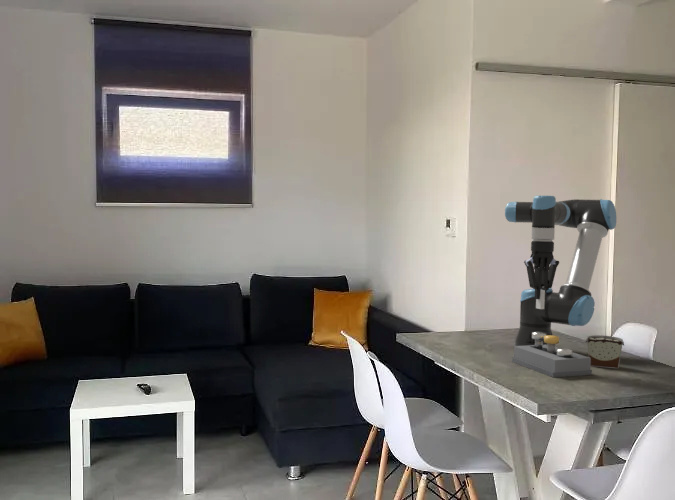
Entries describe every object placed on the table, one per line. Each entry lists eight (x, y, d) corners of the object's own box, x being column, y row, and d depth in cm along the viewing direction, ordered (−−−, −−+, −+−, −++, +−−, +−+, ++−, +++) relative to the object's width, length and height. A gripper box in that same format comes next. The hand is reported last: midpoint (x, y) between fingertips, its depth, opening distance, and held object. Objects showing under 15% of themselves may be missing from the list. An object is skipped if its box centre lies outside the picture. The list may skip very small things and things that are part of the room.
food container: (622, 365, 238) (623, 336, 237) (623, 368, 232) (624, 339, 232) (584, 362, 242) (585, 333, 241) (584, 365, 236) (585, 336, 236)
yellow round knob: (552, 352, 234) (553, 335, 234) (561, 355, 229) (562, 337, 229) (540, 352, 232) (541, 335, 232) (549, 355, 228) (550, 338, 228)
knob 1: (540, 348, 241) (540, 331, 240) (548, 350, 236) (549, 333, 236) (528, 348, 239) (529, 332, 239) (536, 351, 234) (537, 334, 234)
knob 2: (565, 365, 227) (565, 347, 227) (574, 368, 223) (575, 350, 223) (553, 366, 226) (553, 348, 226) (562, 369, 221) (563, 351, 221)
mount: (548, 359, 244) (548, 344, 244) (591, 374, 223) (592, 357, 222) (512, 361, 240) (512, 346, 239) (552, 377, 218) (553, 360, 218)
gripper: (551, 240, 241) (549, 306, 242) (520, 239, 237) (517, 307, 238) (565, 241, 234) (562, 309, 235) (533, 240, 230) (530, 310, 231)
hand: (540, 308), depth 237 cm, fingers closed
